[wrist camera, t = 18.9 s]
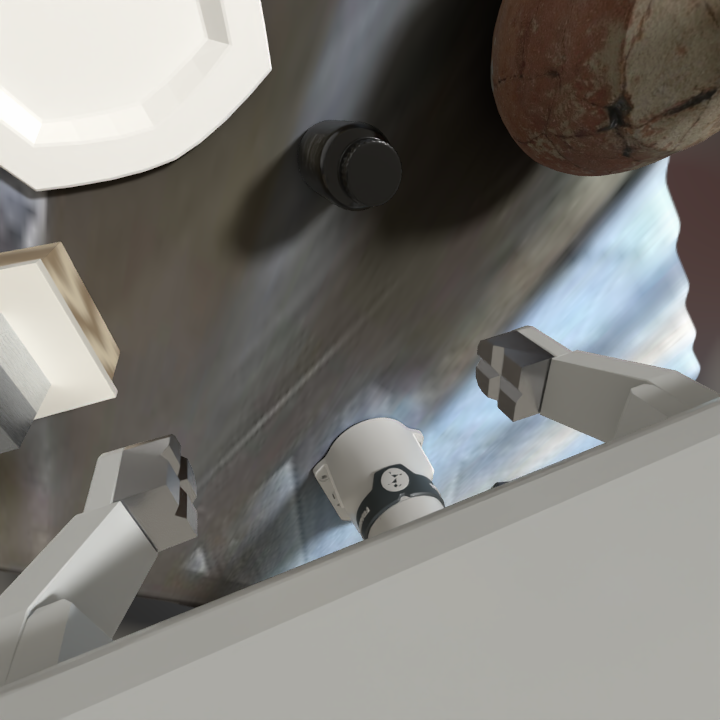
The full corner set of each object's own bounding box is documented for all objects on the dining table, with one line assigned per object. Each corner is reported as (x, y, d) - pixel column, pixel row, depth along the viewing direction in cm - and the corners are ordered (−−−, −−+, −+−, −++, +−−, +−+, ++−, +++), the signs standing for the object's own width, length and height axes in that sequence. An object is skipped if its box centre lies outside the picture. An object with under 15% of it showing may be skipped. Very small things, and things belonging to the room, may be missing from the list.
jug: (409, 6, 36) (846, -195, 12) (604, -175, 34) (1586, -847, 10) (493, 202, 49) (782, 293, 25) (637, 79, 47) (1097, 50, 23)
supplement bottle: (325, 209, 42) (364, 238, 33) (281, 153, 38) (311, 168, 29) (374, 164, 42) (428, 181, 32) (334, 102, 37) (383, 100, 28)
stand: (127, 354, 43) (115, 397, 37) (-10, 389, 40) (-48, 442, 34) (63, 235, 36) (36, 262, 29) (-110, 266, 33) (-183, 305, 26)
